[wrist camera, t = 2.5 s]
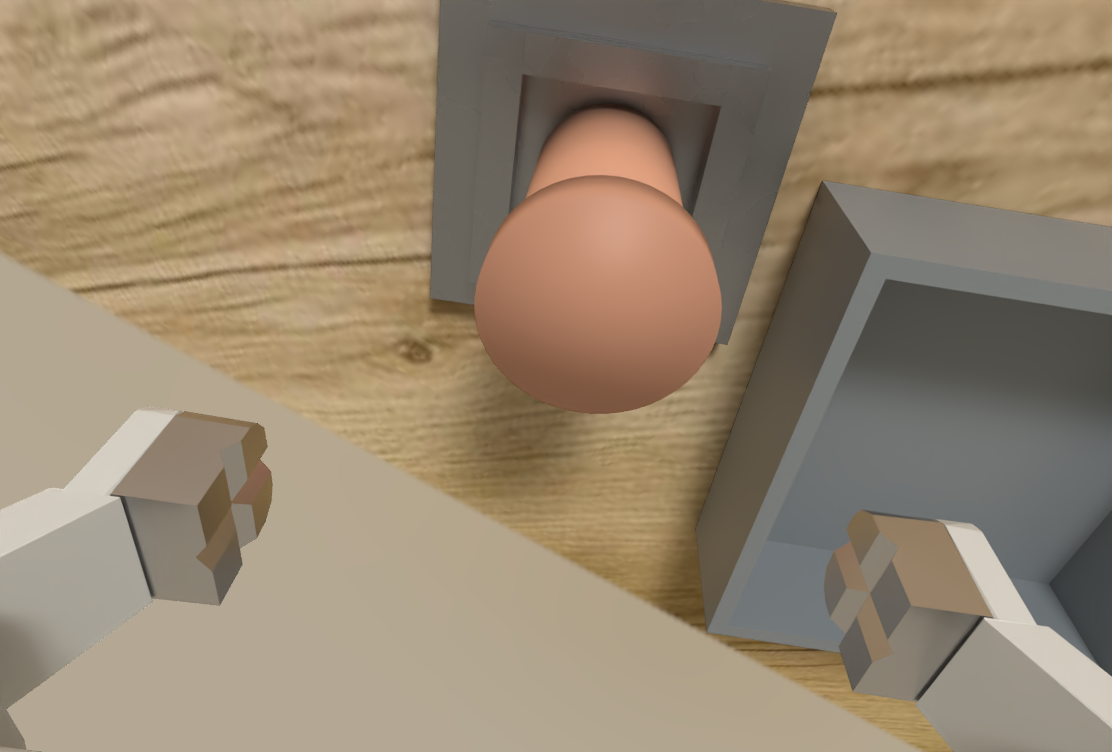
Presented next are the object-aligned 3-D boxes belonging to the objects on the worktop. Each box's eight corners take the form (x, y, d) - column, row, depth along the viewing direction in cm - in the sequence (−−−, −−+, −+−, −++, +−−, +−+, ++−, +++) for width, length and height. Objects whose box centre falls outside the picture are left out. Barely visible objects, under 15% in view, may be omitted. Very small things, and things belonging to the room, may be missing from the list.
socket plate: (829, 8, 18) (847, 19, 17) (724, 332, 24) (731, 361, 22) (448, -54, 18) (433, -50, 17) (435, 286, 24) (423, 313, 22)
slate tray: (1322, 260, 21) (1491, 351, 17) (1048, 583, 30) (1115, 694, 26) (822, 180, 21) (871, 252, 17) (695, 529, 30) (706, 632, 25)
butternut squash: (708, 103, 19) (753, 221, 12) (668, 262, 22) (687, 429, 15) (533, 75, 19) (483, 178, 12) (515, 238, 22) (466, 395, 15)
